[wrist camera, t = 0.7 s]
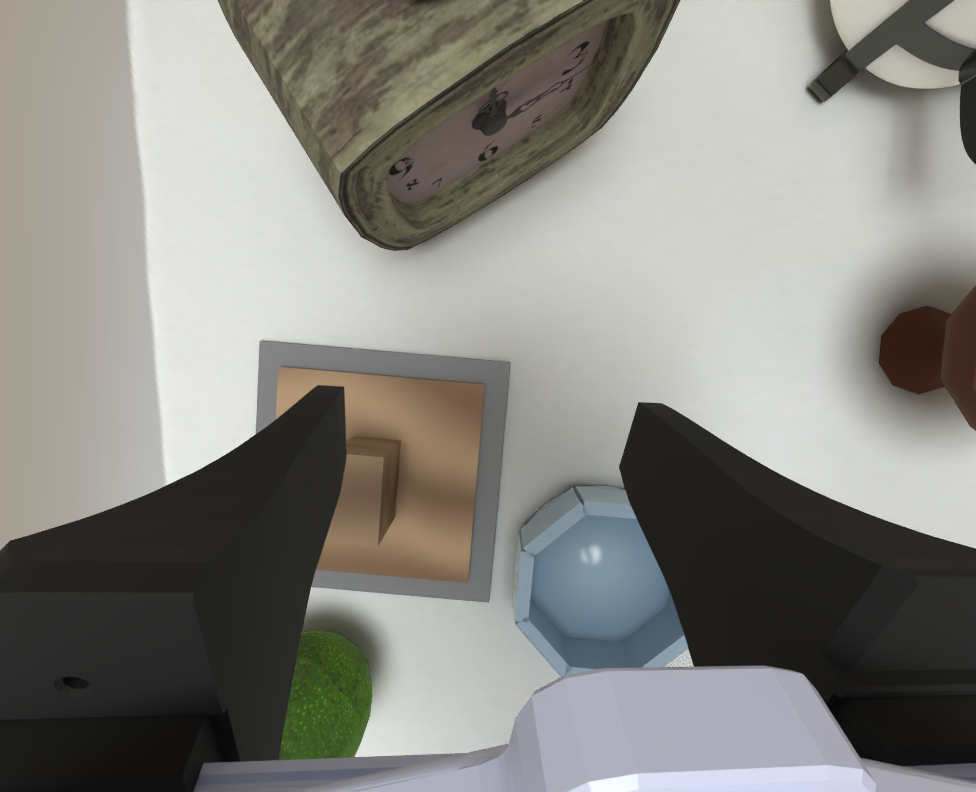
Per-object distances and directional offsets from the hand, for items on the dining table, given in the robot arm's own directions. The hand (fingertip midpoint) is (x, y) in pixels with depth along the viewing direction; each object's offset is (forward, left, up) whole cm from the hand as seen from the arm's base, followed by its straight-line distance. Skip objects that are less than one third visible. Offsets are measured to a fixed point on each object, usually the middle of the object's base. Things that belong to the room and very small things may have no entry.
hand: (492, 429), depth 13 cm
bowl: (-12, -8, -21) cm, 25 cm away
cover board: (-7, +7, -20) cm, 22 cm away
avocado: (-20, +9, -21) cm, 30 cm away
